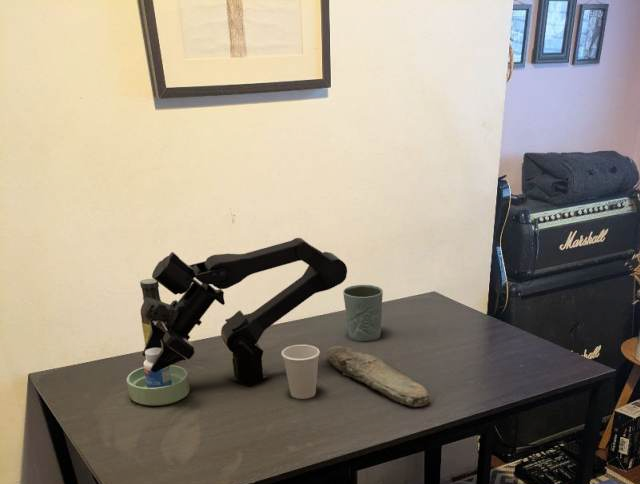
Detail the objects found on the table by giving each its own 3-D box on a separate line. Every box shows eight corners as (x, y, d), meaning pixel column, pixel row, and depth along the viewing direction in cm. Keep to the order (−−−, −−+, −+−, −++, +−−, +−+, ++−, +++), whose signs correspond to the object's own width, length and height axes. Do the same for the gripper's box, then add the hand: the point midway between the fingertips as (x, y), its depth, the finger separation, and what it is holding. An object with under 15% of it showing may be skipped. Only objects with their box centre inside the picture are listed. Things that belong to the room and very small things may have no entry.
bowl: (202, 392, 174) (199, 373, 171) (156, 413, 165) (152, 393, 163) (164, 377, 180) (161, 359, 178) (118, 396, 172) (114, 378, 169)
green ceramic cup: (382, 342, 199) (382, 297, 192) (343, 342, 199) (342, 296, 192) (382, 328, 207) (383, 284, 200) (345, 328, 207) (344, 283, 201)
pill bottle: (143, 394, 171) (135, 353, 166) (157, 385, 176) (150, 344, 170) (163, 398, 170) (156, 357, 164) (178, 389, 174) (171, 348, 168)
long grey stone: (405, 419, 166) (439, 409, 171) (407, 397, 163) (442, 387, 168) (314, 360, 188) (347, 352, 193) (314, 339, 185) (348, 332, 190)
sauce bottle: (168, 368, 185) (154, 286, 173) (143, 366, 186) (128, 284, 174) (179, 358, 190) (167, 278, 179) (155, 356, 191) (142, 276, 180)
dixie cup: (305, 382, 179) (303, 341, 173) (329, 393, 174) (327, 351, 168) (276, 393, 174) (273, 351, 168) (300, 405, 169) (297, 362, 163)
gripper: (152, 272, 168) (109, 328, 170) (170, 297, 154) (123, 358, 156) (192, 302, 175) (151, 356, 177) (213, 329, 161) (168, 387, 163)
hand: (148, 363), depth 168 cm, fingers open, 9 cm apart
